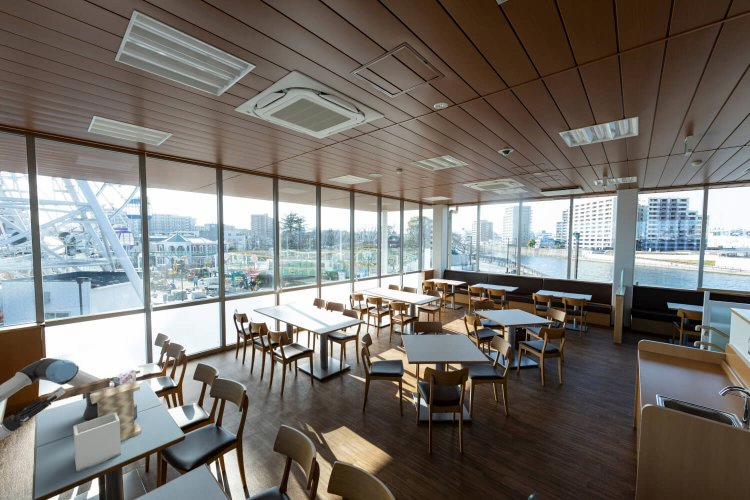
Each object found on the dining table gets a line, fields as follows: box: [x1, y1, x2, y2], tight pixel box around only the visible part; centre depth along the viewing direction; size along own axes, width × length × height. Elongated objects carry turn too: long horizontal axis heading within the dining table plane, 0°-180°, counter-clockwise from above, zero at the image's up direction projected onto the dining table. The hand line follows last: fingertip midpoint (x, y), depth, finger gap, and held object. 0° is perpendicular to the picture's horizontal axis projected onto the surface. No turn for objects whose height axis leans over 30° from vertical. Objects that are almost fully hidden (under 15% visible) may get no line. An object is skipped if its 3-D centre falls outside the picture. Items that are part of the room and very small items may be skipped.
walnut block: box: [39, 377, 111, 404], centre depth 173 cm, size 28×4×4 cm, turn 138°
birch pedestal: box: [90, 381, 142, 442], centre depth 186 cm, size 22×10×30 cm, turn 138°
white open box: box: [72, 412, 122, 473], centre depth 170 cm, size 18×12×20 cm, turn 138°
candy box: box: [112, 369, 137, 385], centre depth 239 cm, size 14×6×16 cm, turn 168°
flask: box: [134, 403, 138, 422], centre depth 205 cm, size 9×3×11 cm, turn 8°
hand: (63, 389), depth 169 cm, fingers closed on walnut block, 4 cm apart
